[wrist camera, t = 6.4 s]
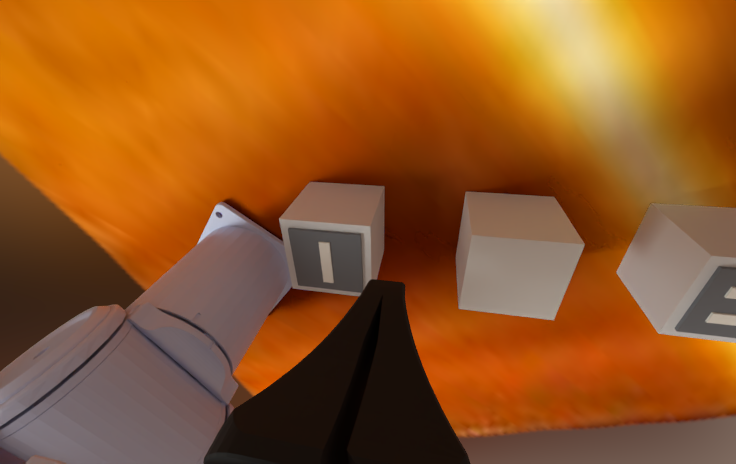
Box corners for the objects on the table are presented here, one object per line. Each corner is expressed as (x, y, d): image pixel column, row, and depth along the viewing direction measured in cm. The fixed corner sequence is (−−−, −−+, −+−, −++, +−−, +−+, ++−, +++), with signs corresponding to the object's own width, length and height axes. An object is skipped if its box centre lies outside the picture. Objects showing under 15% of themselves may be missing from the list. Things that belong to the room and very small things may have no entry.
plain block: (455, 256, 22) (458, 308, 18) (465, 190, 20) (471, 235, 16) (532, 263, 22) (553, 320, 18) (554, 196, 19) (585, 244, 15)
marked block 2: (615, 271, 21) (661, 338, 16) (650, 202, 18) (716, 260, 14) (706, 280, 20) (780, 352, 16) (756, 208, 17) (863, 272, 13)
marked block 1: (318, 243, 24) (290, 291, 20) (310, 181, 21) (276, 221, 17) (384, 249, 23) (371, 301, 19) (384, 185, 21) (369, 229, 16)
